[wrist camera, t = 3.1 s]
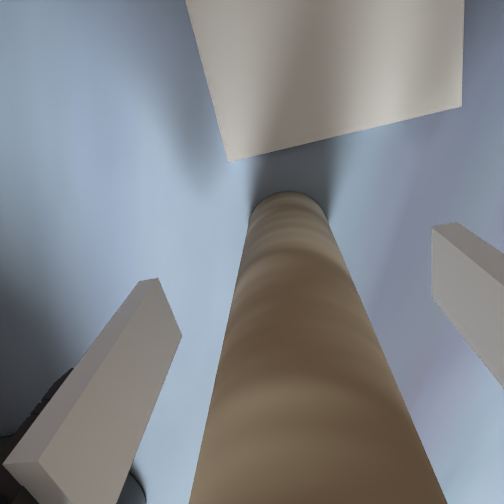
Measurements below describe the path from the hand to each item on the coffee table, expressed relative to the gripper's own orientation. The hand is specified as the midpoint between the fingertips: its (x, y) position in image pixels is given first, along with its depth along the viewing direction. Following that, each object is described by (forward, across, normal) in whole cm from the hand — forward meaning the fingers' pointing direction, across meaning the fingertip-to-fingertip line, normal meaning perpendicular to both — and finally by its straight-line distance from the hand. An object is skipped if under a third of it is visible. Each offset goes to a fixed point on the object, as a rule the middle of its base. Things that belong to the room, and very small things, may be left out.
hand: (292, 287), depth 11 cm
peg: (+6, 0, 0) cm, 6 cm away
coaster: (+6, +3, +9) cm, 11 cm away
